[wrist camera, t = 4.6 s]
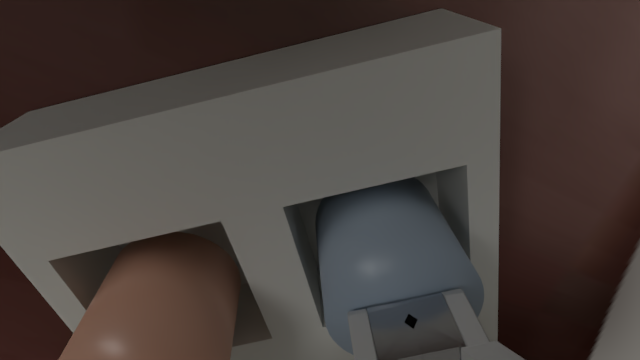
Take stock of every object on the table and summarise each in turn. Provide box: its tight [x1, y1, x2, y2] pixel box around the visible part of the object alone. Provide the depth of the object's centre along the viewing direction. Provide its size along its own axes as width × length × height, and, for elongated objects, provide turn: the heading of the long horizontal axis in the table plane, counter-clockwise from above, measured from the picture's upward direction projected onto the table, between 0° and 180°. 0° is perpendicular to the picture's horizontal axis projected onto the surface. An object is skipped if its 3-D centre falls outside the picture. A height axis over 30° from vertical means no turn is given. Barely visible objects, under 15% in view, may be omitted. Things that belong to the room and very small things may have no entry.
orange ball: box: [59, 232, 241, 360], centre depth 12 cm, size 4×4×4 cm
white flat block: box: [0, 8, 501, 360], centre depth 14 cm, size 12×14×4 cm
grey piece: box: [315, 177, 484, 355], centre depth 12 cm, size 4×4×4 cm
